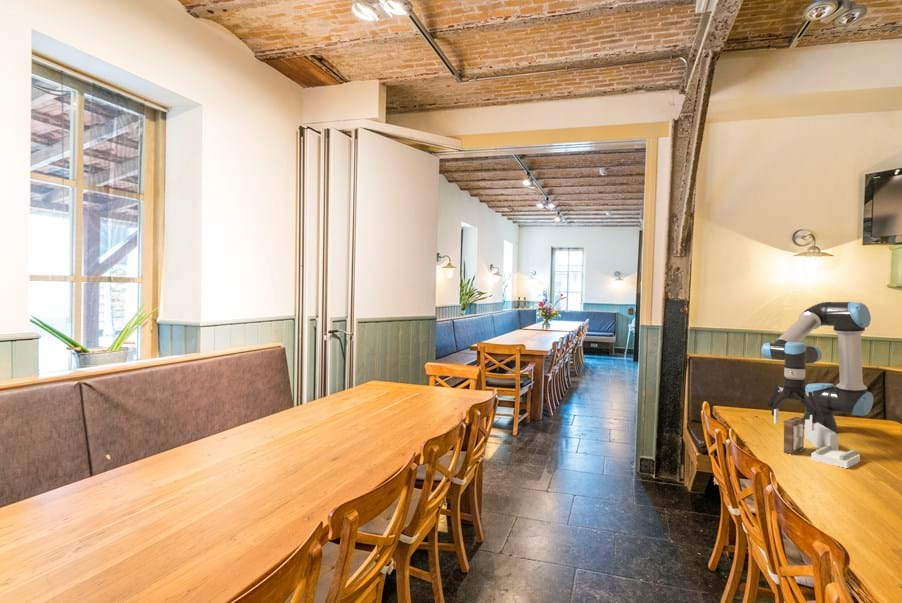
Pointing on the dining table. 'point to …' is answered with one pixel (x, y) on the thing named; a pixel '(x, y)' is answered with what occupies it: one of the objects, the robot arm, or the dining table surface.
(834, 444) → the decorative sign
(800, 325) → the robot arm
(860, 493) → the dining table surface
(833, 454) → the panel
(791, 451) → the brown picture frame
